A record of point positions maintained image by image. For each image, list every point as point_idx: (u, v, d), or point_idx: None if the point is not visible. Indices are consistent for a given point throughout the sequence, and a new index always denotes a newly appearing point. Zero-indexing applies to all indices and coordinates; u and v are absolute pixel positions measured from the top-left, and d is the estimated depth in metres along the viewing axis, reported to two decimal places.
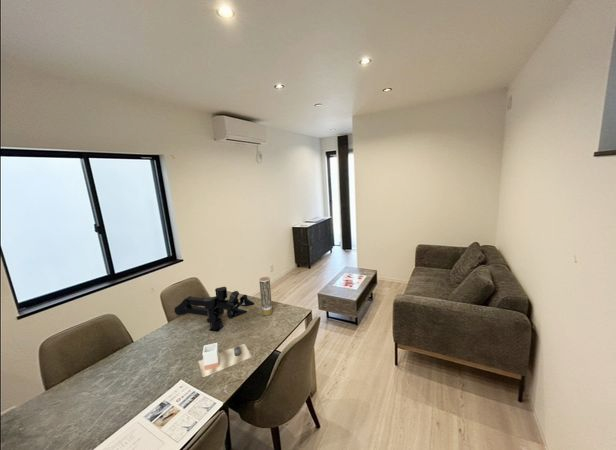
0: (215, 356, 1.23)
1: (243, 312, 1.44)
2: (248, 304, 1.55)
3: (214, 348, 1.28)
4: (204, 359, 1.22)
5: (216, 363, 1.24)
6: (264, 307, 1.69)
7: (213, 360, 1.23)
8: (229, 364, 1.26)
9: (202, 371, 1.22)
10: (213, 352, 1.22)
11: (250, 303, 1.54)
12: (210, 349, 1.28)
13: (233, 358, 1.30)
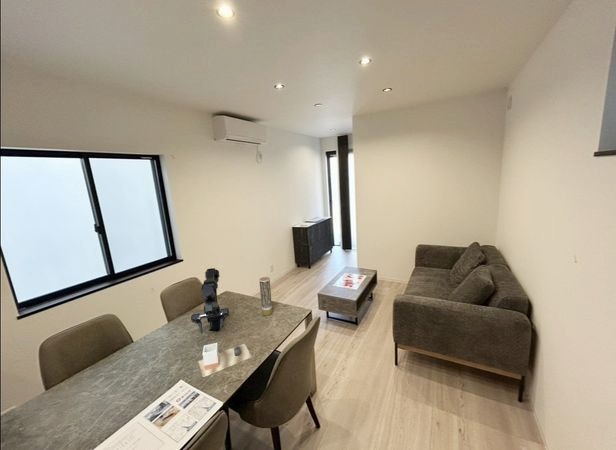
0: (215, 356, 1.23)
1: (200, 330, 1.31)
2: None
3: (214, 348, 1.28)
4: (204, 359, 1.22)
5: (216, 363, 1.24)
6: (264, 307, 1.69)
7: (213, 360, 1.23)
8: (229, 364, 1.26)
9: (202, 371, 1.22)
10: (213, 352, 1.22)
11: (220, 324, 1.34)
12: (210, 349, 1.28)
13: (233, 358, 1.30)
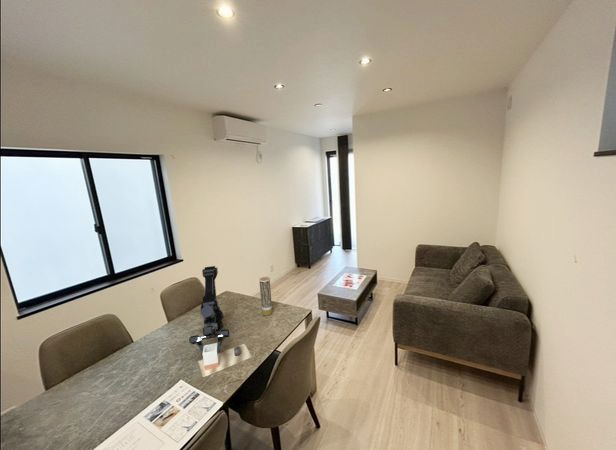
0: (215, 356, 1.23)
1: None
2: (218, 345, 1.28)
3: (214, 348, 1.28)
4: (204, 359, 1.22)
5: (216, 363, 1.24)
6: (264, 307, 1.69)
7: (213, 360, 1.23)
8: (229, 364, 1.26)
9: (202, 371, 1.22)
10: (213, 352, 1.22)
11: None
12: (210, 349, 1.28)
13: (233, 358, 1.30)
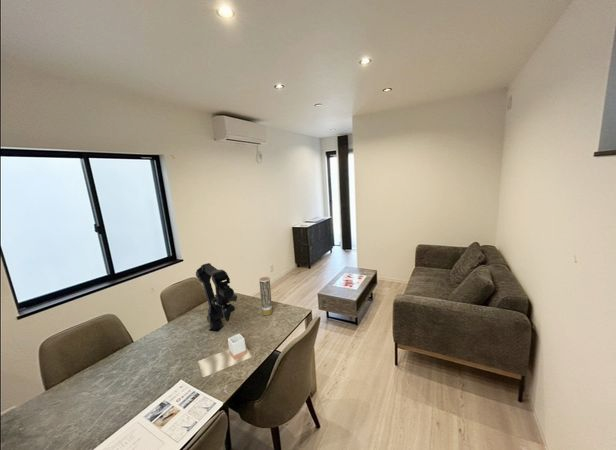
0: (243, 344, 1.31)
1: (227, 318, 1.41)
2: (218, 309, 1.48)
3: (237, 339, 1.35)
4: (234, 349, 1.28)
5: (244, 351, 1.31)
6: (264, 307, 1.69)
7: (241, 348, 1.30)
8: (229, 364, 1.26)
9: (202, 371, 1.22)
10: (241, 341, 1.30)
11: (220, 311, 1.49)
12: (233, 340, 1.33)
13: None
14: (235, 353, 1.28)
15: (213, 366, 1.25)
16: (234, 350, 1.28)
